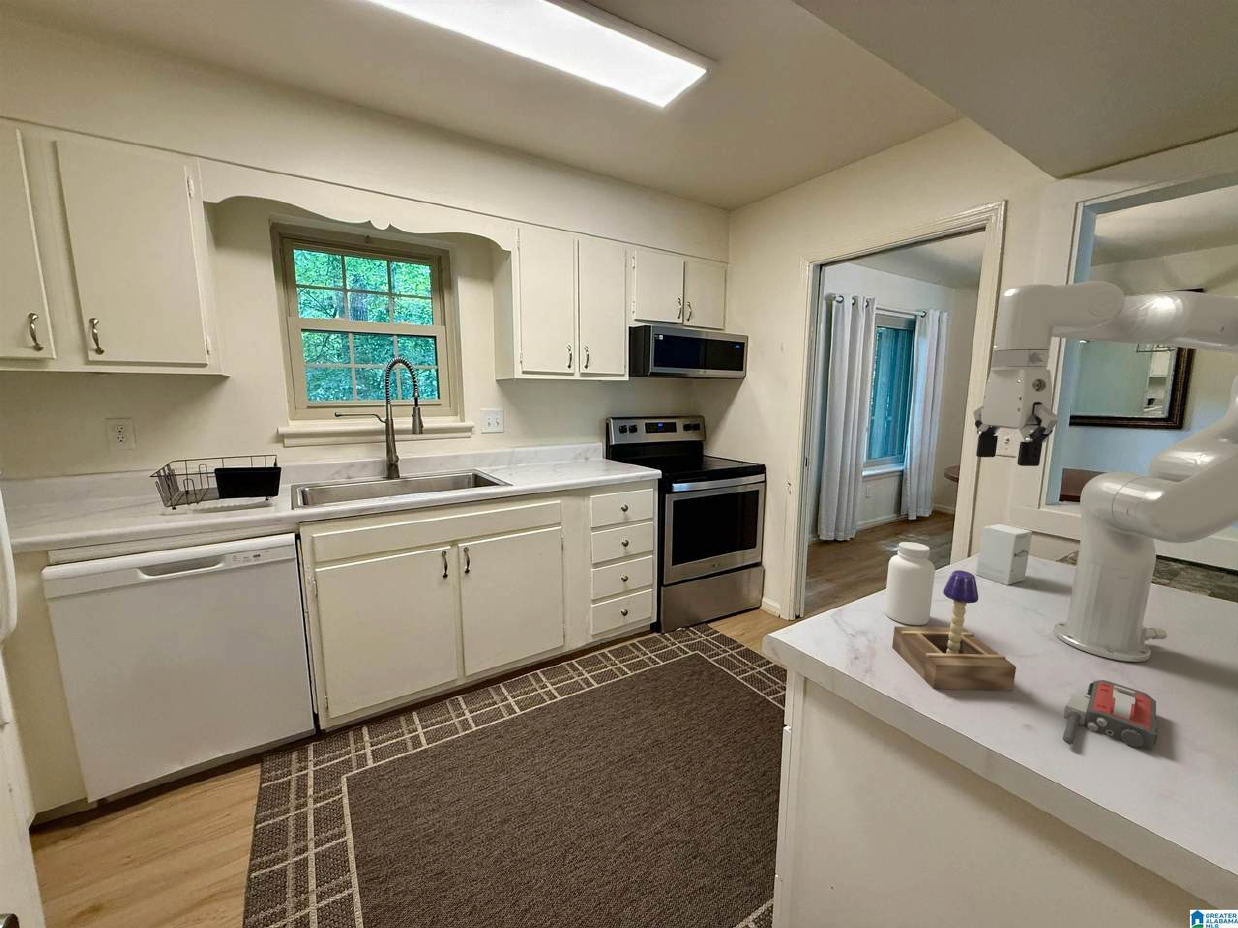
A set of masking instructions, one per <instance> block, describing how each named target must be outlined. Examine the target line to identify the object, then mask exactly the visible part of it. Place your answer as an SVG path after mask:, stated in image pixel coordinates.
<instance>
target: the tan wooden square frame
mask: <svg viewBox="0 0 1238 928" xmlns="http://www.w3.org/2000/svg"><path fill="white" fill-rule="evenodd" d="M893 627H894V629H893V636H892V638H893V639H892V644H891V645H892V647H891V648H893V650H894V651H895V652H896V653H897V654H898V655H900V657H901V658H903V660H904V661H905V662H906V663H907V664H908V665H909V666H910V667H911V668H912V669H913V670H914V672H916V673H917V674H918V675H919V676H920V677H921V678H922V679H923V680H924V681H925V682H926V683H927V684H928V685H929V686H930V687H931V688H932V689H935V690H965V691H967V690H968V691H1000V692H1001V691H1005V692H1006V691H1007V692H1012V691H1014V685H1015V684H1014V683H1015V678H1016V671H1017V666H1016V665H1014V664H1013V663H1012V662H1010V661H1009V660H1008V659H1006V656H1005V655H1003V654H1000V653H998V652H997V651H995V650H994V649H993V648H991V647H990V646H988V645H987V644H986V643H984V642H983V641H982V640H980V639H979V638H977V636H975V633H973V632H970V631H968V630H967V629H966V628H964V627H963V632H962V633H961V635H962V639H961V641H960V649H959V650H958V651H959V654H946V651H947V649H948V646H947V643H948V641H949V632H950V631H951V630H950V627H940V626H939V627H938V626H937V627H936V626H935V627H932V626H931V627H929V626H893Z"/></svg>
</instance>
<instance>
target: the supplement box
mask: <svg viewBox="0 0 1238 928" xmlns="http://www.w3.org/2000/svg"><path fill="white" fill-rule="evenodd" d="M1032 535H1033V531H1032V530H1030V529H1029V530H1028V529H1026V528H1021V527H1015V526H1012V525H1006V524H1002V523H997V524H992V525H986V526H982V530H981V535H980V544H979V549H978V557H977V564H976V568H975V571H976V572H975V575H977V576H979V577H982V578H985V579H988V580H991V581H992V582H996V583H1000V584H1001V585H1006V586H1009V585H1011V584H1014V583H1015V584H1016V583H1019V582H1023V581H1025V580H1026V573H1027V567H1028V561H1029V555H1030V550H1031V541H1032Z"/></svg>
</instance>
